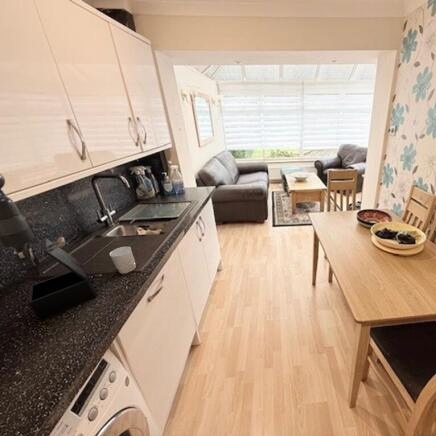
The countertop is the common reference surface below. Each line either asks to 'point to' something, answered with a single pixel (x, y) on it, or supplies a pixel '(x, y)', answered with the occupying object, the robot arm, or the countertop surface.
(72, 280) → the bin
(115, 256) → the white cup
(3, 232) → the robot arm
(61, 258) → the bin lid
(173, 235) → the countertop surface
